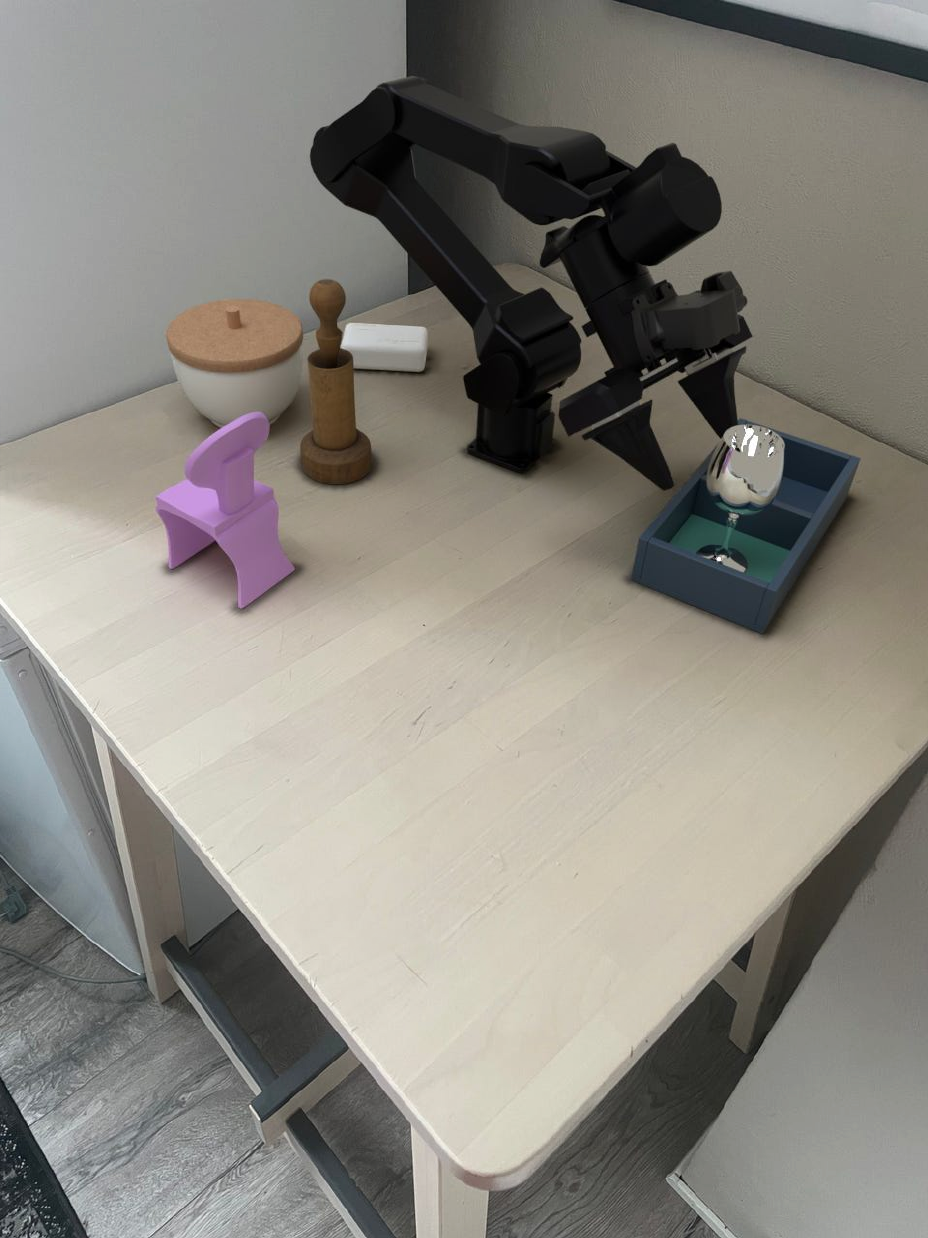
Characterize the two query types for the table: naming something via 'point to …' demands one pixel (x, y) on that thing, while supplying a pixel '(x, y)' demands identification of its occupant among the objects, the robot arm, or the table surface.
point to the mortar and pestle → (332, 399)
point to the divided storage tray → (745, 536)
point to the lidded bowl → (237, 358)
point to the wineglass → (743, 482)
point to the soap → (386, 346)
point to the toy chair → (228, 508)
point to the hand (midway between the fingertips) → (703, 466)
